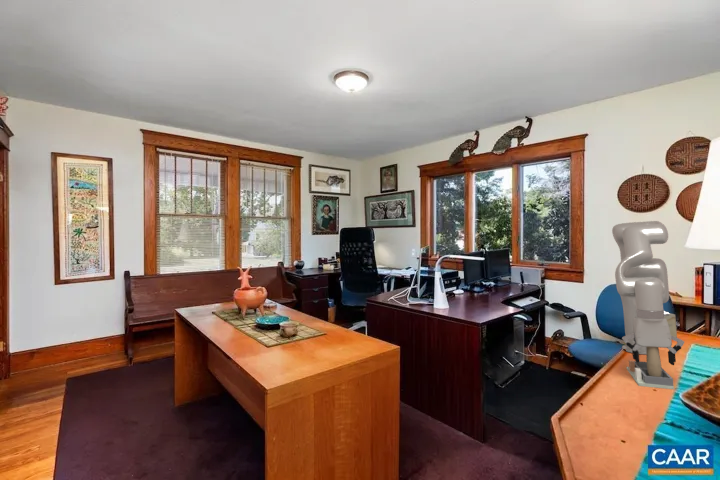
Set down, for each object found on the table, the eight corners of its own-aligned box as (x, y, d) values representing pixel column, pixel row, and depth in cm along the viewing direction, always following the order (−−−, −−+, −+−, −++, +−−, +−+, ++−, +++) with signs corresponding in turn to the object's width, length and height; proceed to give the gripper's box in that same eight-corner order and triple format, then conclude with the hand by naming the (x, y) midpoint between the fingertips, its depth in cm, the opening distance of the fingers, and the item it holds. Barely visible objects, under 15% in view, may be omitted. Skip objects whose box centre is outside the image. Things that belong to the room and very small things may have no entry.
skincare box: (663, 338, 175) (661, 314, 176) (657, 336, 180) (655, 313, 180) (677, 338, 174) (675, 314, 175) (671, 336, 179) (669, 312, 179)
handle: (645, 376, 127) (641, 335, 128) (668, 380, 122) (664, 337, 123) (642, 379, 124) (638, 337, 125) (666, 384, 119) (662, 340, 120)
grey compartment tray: (626, 369, 137) (625, 357, 138) (657, 371, 133) (656, 360, 133) (638, 385, 121) (637, 372, 122) (674, 389, 117) (672, 376, 117)
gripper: (677, 313, 123) (681, 361, 122) (618, 311, 131) (621, 357, 130) (685, 317, 116) (690, 368, 116) (622, 315, 124) (626, 363, 124)
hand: (653, 362), depth 123 cm, fingers open, 9 cm apart
